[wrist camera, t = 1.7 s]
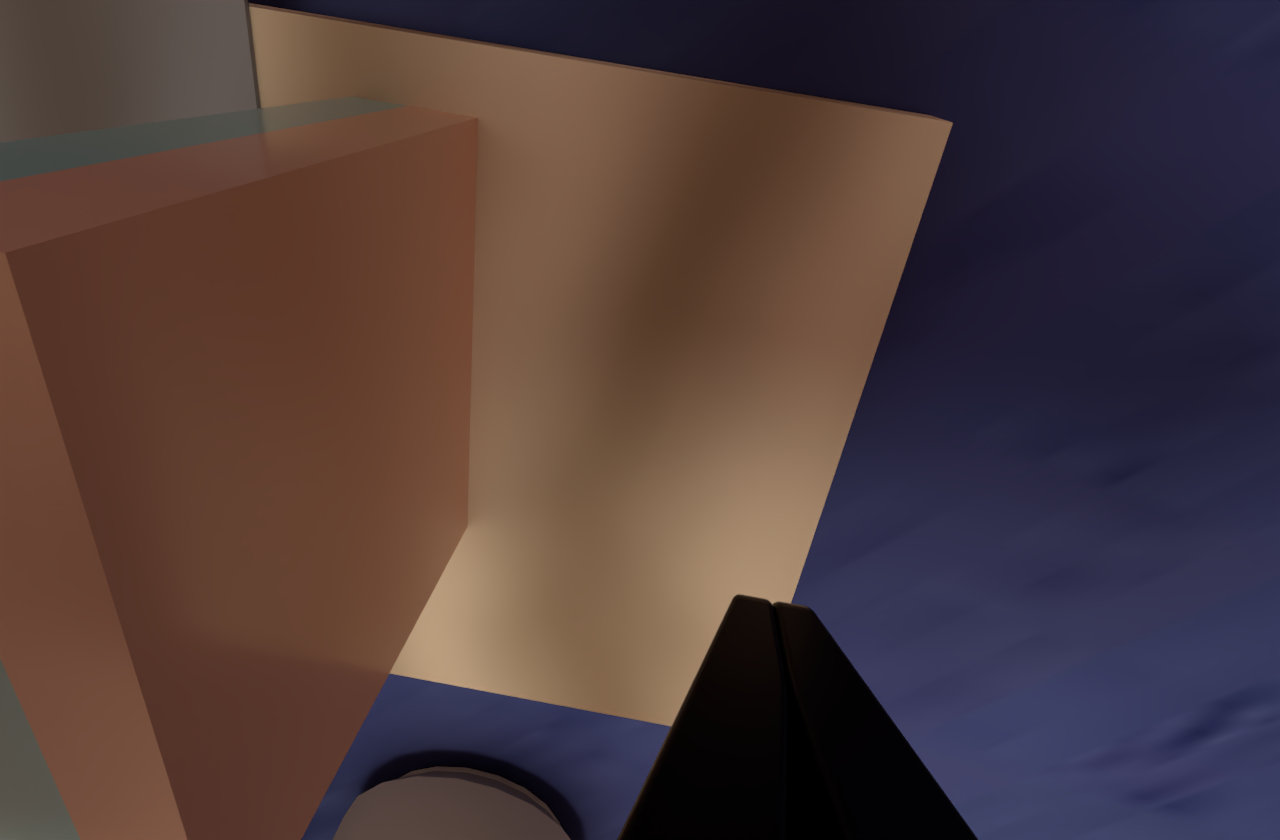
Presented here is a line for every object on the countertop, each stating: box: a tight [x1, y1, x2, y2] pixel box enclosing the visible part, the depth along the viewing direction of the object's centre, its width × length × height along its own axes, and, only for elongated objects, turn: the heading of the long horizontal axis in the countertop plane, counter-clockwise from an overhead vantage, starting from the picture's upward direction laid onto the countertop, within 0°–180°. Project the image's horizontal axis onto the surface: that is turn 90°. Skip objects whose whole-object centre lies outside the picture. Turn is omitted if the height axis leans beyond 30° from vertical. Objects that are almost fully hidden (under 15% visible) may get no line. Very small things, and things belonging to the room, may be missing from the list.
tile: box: [0, 96, 478, 840], centre depth 9 cm, size 2×8×8 cm, turn 172°
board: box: [0, 0, 953, 726], centre depth 14 cm, size 20×14×1 cm
